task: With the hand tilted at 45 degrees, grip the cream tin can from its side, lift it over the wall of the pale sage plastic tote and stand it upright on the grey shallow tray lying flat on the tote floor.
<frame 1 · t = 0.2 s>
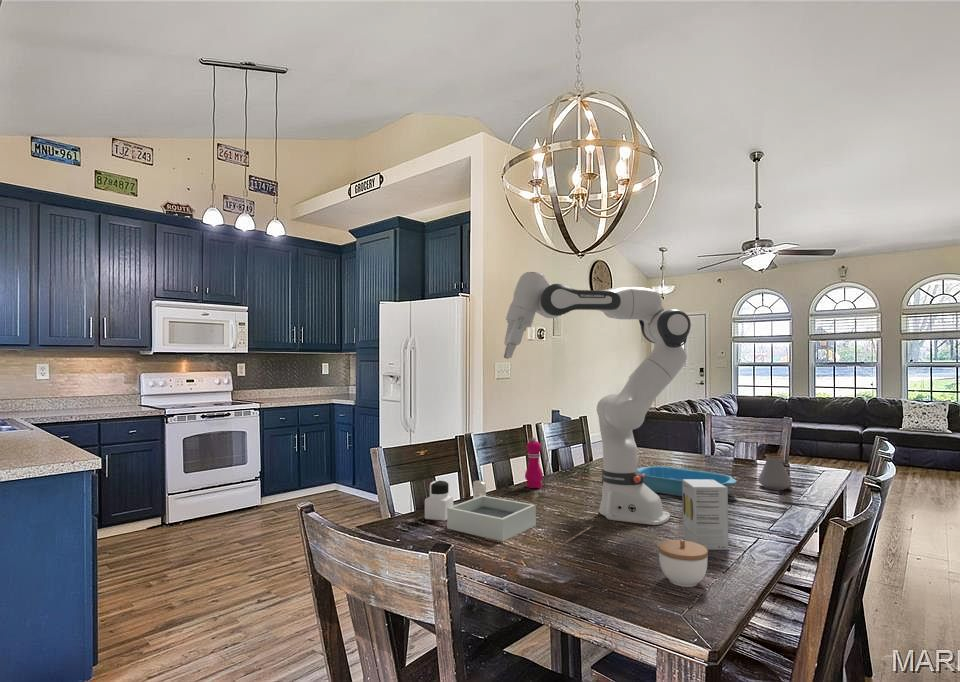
hand: (507, 357, 176), 52 cm above the table, tool tilted 20°, fingers open, 8 cm apart
pepper mill: (534, 487, 213), on the table
tote: (492, 530, 159), on the table
supplement box: (705, 544, 146), on the table
casserole dish: (684, 492, 205), on the table
coffee pot: (777, 486, 213), on the table
medicine bottle: (439, 520, 170), on the table
lidded jar: (683, 582, 122), on the table
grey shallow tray: (492, 526, 159), point 1 cm above the table, touching tote
tin can: (479, 508, 183), on the table
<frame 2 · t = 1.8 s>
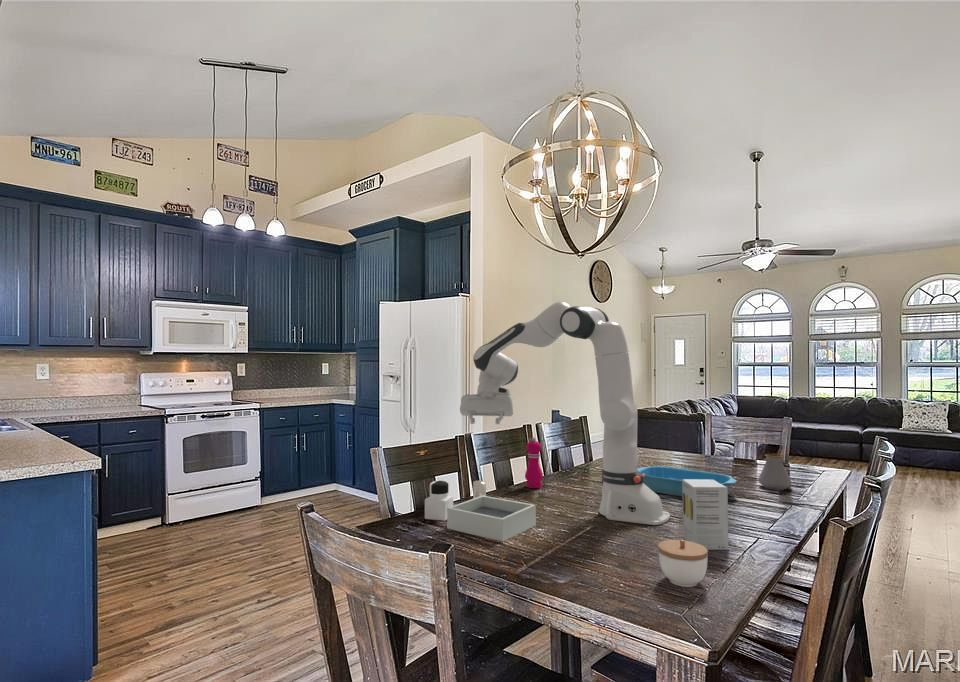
hand: (484, 423, 197), 28 cm above the table, tool tilted 45°, fingers open, 8 cm apart
nothing on the table moved.
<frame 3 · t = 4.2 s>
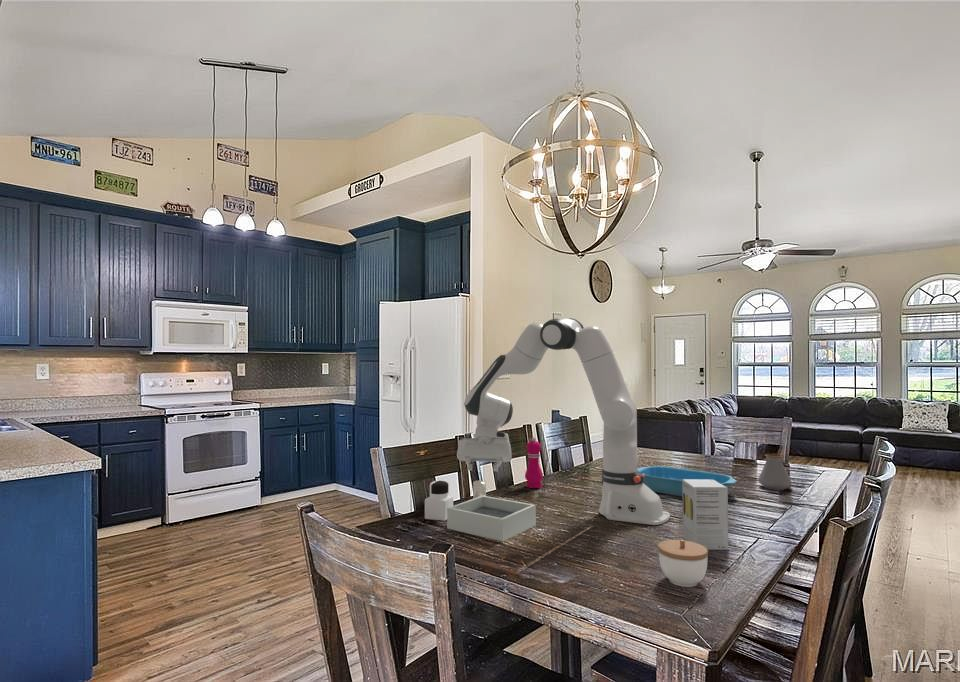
hand: (482, 470, 191), 12 cm above the table, tool tilted 45°, fingers open, 8 cm apart
nothing on the table moved.
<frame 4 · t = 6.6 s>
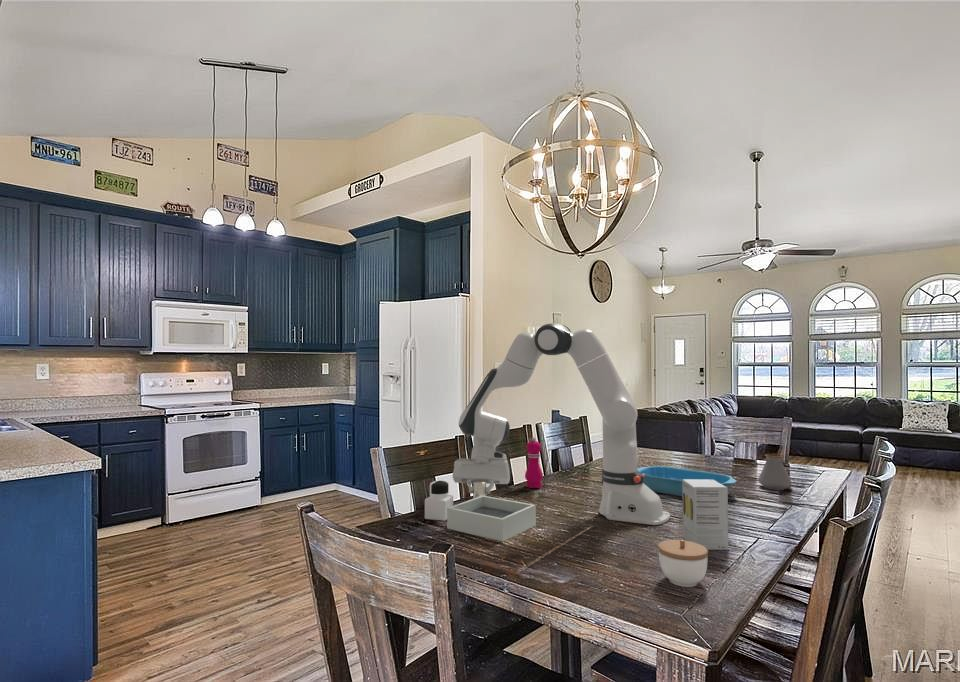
hand: (479, 492, 183), 5 cm above the table, tool tilted 45°, fingers closed on tin can, 4 cm apart
tin can: (479, 508, 183), on the table, touching gripper
everything else where it was.
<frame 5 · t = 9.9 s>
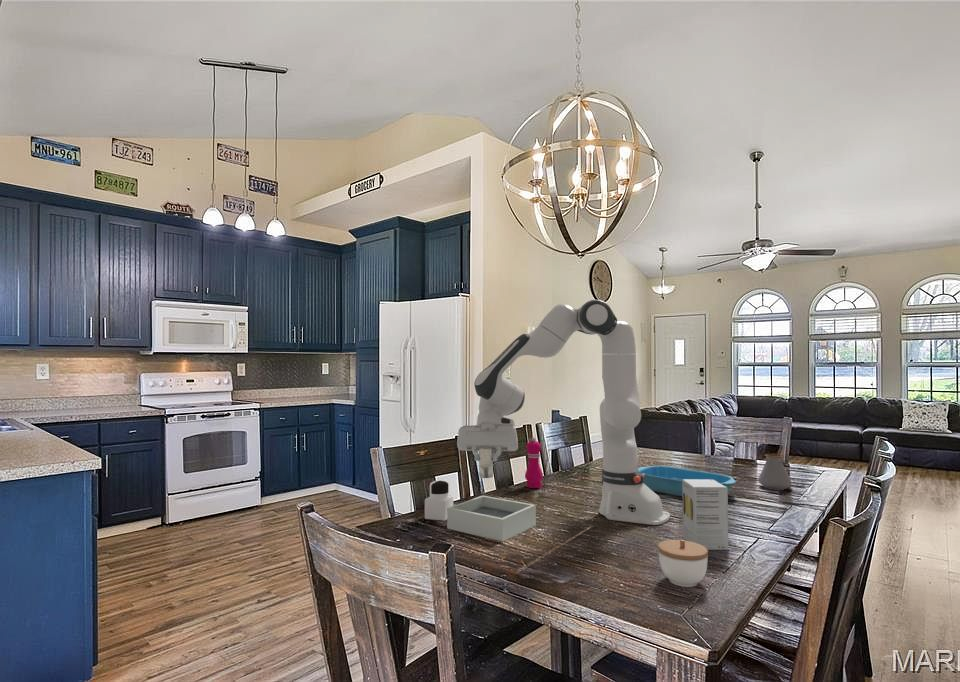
hand: (485, 460, 171), 19 cm above the table, tool tilted 45°, fingers closed on tin can, 4 cm apart
tin can: (486, 476, 171), point 14 cm above the table, touching gripper
when the fingers open (11 cm above the table, at t = 13.0 s): tin can drops 1 cm, resting on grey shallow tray.
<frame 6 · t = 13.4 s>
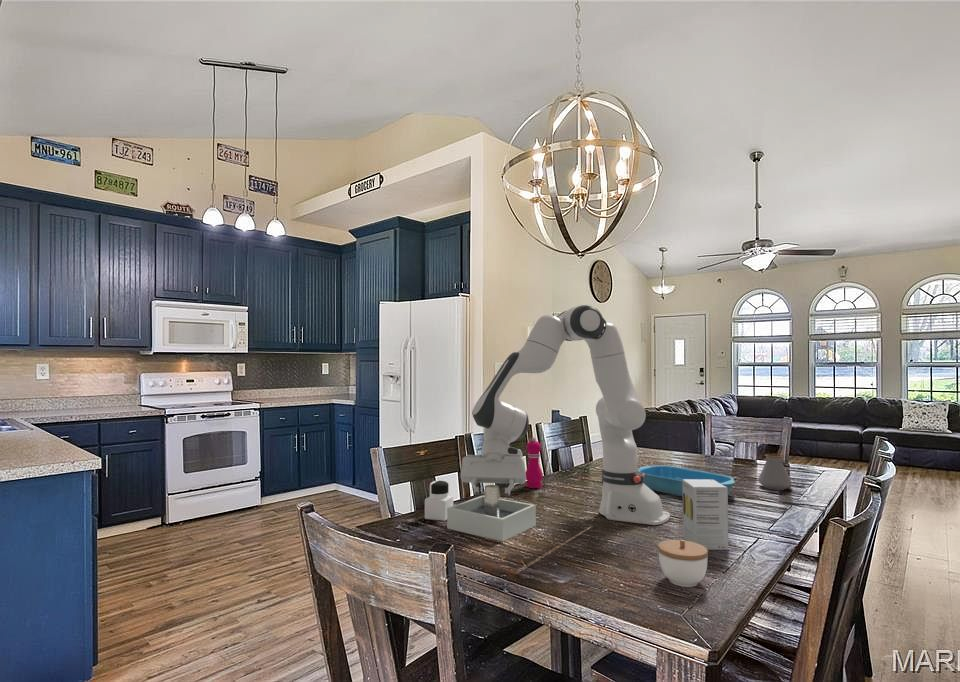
hand: (491, 494, 159), 11 cm above the table, tool tilted 45°, fingers open, 8 cm apart
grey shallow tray: (492, 526, 159), point 1 cm above the table, touching tin can, tote
tin can: (492, 516, 160), point 4 cm above the table, touching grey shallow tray
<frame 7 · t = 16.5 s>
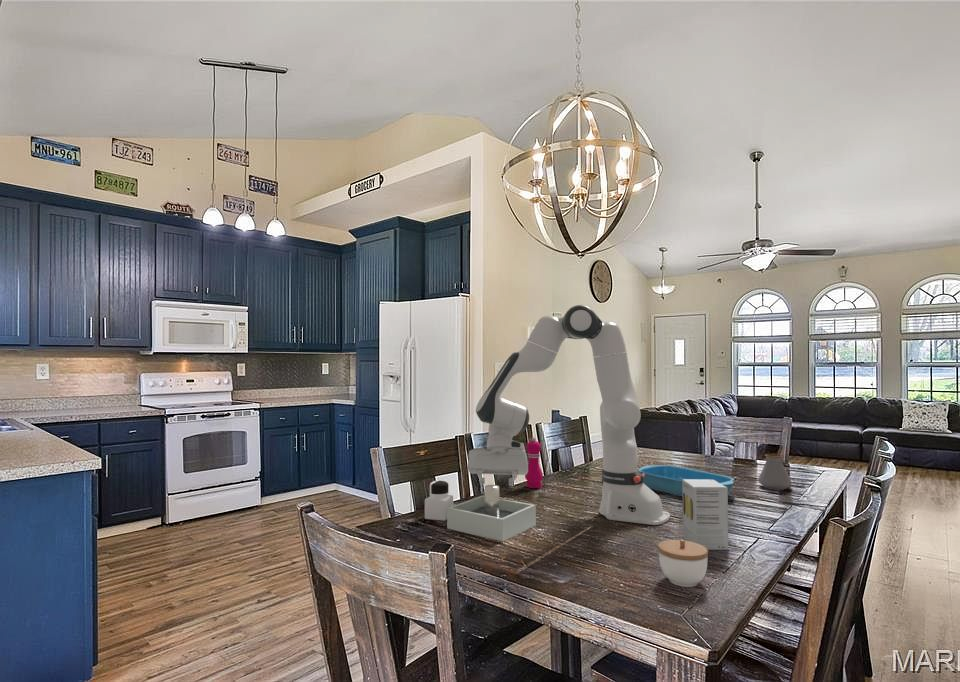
hand: (496, 484, 172), 11 cm above the table, tool tilted 45°, fingers open, 8 cm apart
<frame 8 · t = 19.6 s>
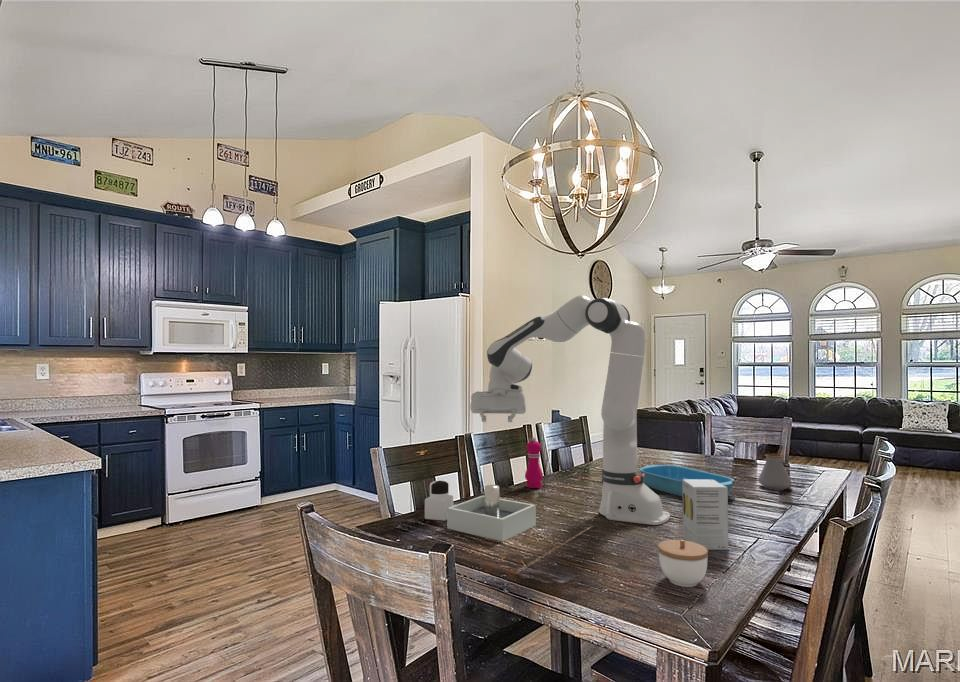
hand: (496, 421, 189), 29 cm above the table, tool tilted 45°, fingers open, 8 cm apart
at the end: tin can inside the target area on the tote (0.1 cm from its centre), point 4.0 cm above the tote's base; tin can tilted 0°; the gripper is holding nothing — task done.
